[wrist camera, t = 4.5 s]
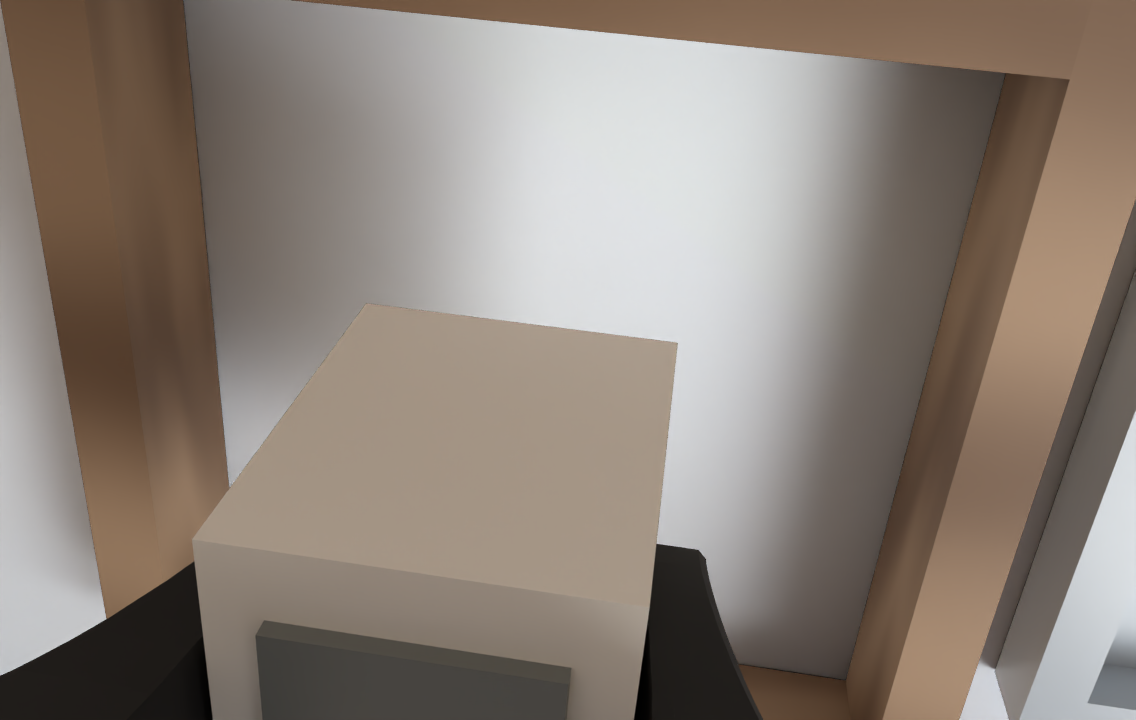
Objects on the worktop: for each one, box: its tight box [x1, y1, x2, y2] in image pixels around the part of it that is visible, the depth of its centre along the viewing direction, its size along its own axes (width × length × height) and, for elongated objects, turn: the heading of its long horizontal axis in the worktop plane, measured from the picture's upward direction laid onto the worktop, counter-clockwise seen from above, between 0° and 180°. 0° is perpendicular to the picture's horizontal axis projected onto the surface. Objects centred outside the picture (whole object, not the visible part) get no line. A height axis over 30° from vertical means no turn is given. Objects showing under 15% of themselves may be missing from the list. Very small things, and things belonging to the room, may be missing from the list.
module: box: [192, 303, 678, 720], centre depth 13 cm, size 6×4×5 cm, turn 176°
